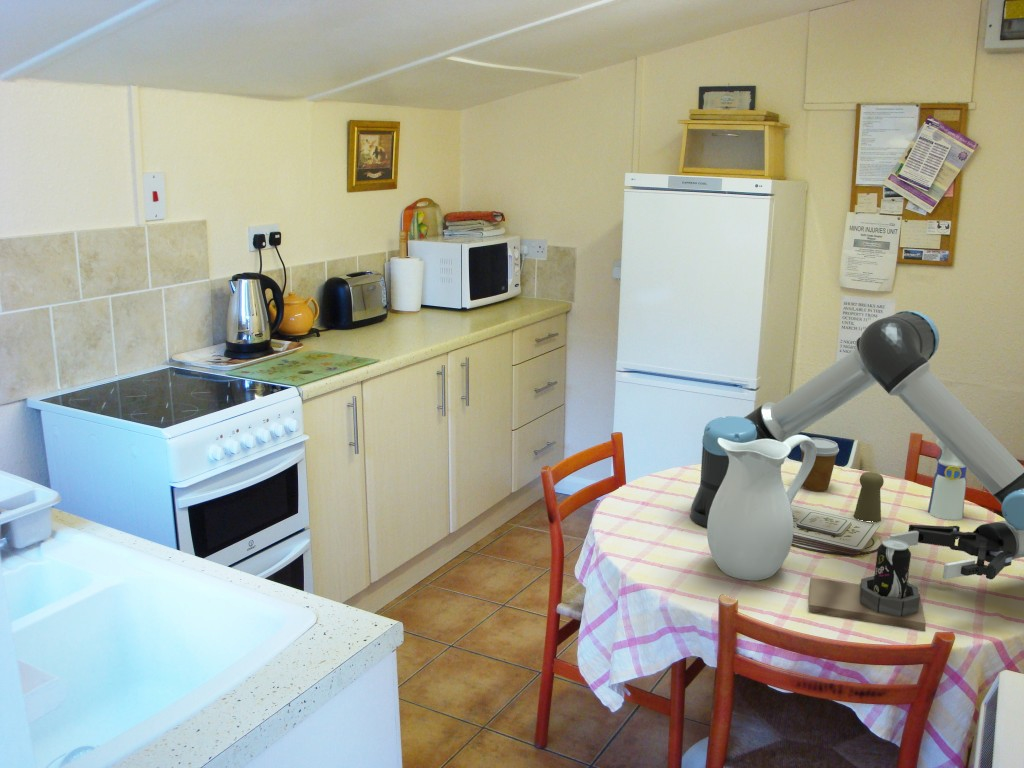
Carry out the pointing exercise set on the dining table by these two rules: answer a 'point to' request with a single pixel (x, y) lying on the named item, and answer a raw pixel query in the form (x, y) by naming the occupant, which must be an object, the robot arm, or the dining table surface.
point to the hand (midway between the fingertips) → (916, 556)
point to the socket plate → (851, 606)
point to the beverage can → (892, 569)
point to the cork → (869, 497)
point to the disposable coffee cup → (821, 464)
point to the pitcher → (755, 507)
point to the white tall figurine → (948, 486)
